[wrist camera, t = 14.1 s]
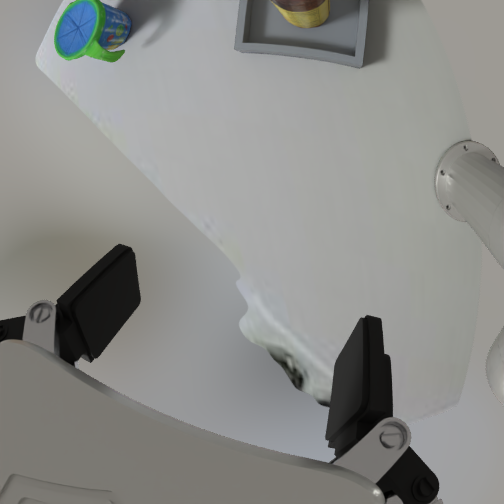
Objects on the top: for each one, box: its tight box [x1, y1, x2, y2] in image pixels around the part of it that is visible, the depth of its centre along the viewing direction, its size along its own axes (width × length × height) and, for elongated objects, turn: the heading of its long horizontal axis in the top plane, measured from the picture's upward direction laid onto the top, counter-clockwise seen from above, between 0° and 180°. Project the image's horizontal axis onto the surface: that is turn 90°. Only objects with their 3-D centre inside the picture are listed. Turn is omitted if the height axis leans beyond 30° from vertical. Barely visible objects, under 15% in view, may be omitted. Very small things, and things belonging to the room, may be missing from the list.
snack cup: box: [54, 0, 131, 62], centre depth 29 cm, size 16×10×10 cm
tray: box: [234, 0, 369, 68], centre depth 26 cm, size 16×14×4 cm
